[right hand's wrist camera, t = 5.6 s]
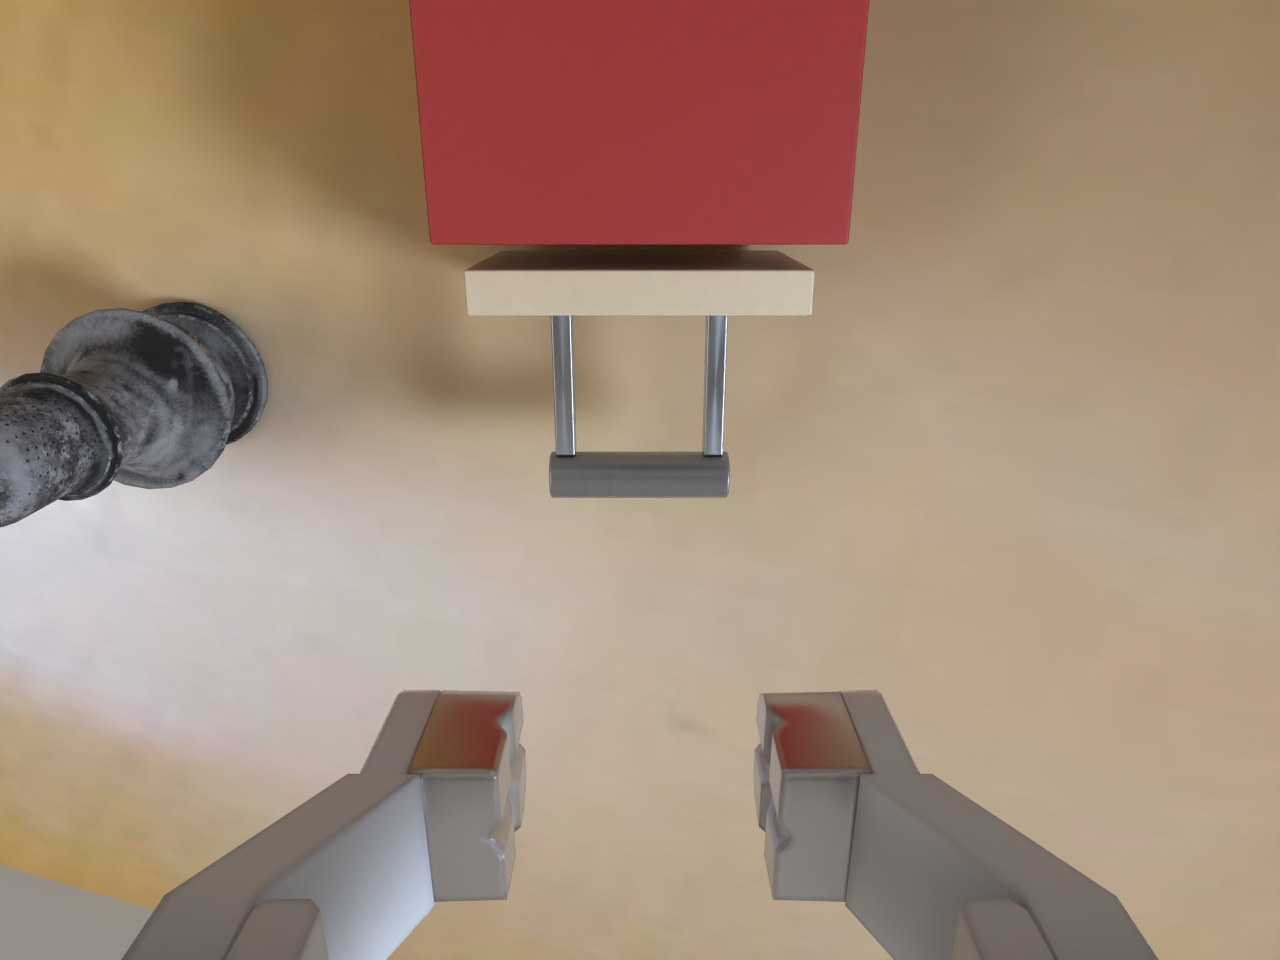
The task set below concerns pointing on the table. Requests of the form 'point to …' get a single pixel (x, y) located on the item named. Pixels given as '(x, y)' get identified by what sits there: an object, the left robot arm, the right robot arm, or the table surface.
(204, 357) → the chess piece
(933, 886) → the right robot arm
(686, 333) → the table surface
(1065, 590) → the table surface
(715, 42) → the cabinet
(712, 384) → the drawer
